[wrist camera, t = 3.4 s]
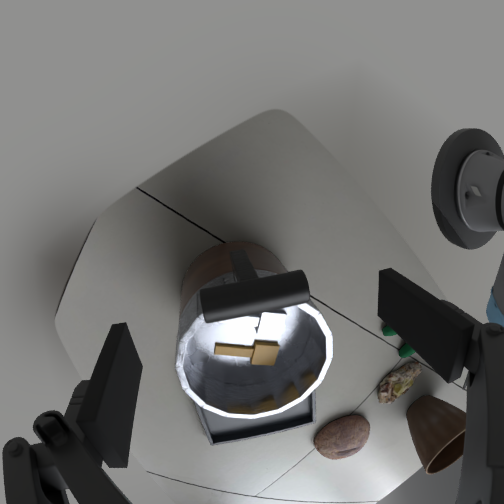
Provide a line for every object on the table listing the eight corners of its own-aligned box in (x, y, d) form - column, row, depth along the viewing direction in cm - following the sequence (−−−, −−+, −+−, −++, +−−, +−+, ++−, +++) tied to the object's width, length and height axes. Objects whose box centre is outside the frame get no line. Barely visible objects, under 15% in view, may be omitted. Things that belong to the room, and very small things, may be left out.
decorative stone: (309, 427, 53) (318, 447, 48) (366, 405, 54) (378, 423, 49) (316, 456, 57) (323, 474, 51) (366, 436, 58) (376, 453, 52)
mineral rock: (391, 412, 53) (381, 406, 48) (379, 398, 57) (368, 391, 52) (429, 375, 52) (424, 365, 48) (416, 362, 56) (409, 351, 51)
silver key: (285, 311, 31) (287, 314, 31) (279, 333, 32) (281, 336, 32) (221, 304, 30) (221, 306, 30) (216, 327, 31) (217, 330, 30)
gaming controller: (403, 342, 53) (431, 337, 48) (400, 360, 50) (429, 355, 46) (383, 315, 50) (415, 308, 45) (379, 333, 47) (412, 327, 43)
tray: (312, 415, 52) (316, 422, 50) (210, 437, 50) (210, 445, 48) (309, 343, 46) (313, 350, 44) (184, 369, 44) (184, 377, 42)
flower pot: (429, 372, 55) (473, 418, 40) (452, 390, 60) (488, 429, 44) (381, 422, 57) (415, 472, 42) (410, 433, 61) (440, 475, 46)
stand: (292, 327, 45) (315, 368, 36) (194, 347, 43) (196, 393, 34) (282, 232, 40) (308, 255, 31) (170, 252, 39) (162, 283, 29)
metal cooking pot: (315, 369, 35) (359, 447, 23) (196, 394, 34) (202, 484, 22) (305, 218, 30) (375, 261, 18) (153, 246, 28) (124, 311, 16)
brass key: (278, 343, 33) (279, 346, 32) (272, 362, 33) (274, 365, 33) (216, 337, 31) (217, 340, 31) (212, 358, 32) (213, 361, 31)
